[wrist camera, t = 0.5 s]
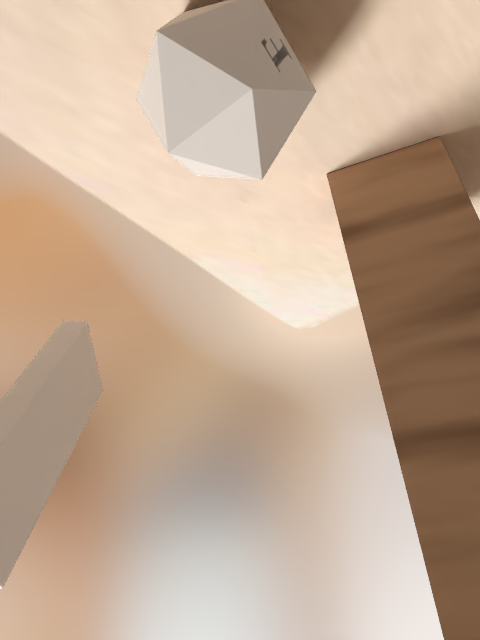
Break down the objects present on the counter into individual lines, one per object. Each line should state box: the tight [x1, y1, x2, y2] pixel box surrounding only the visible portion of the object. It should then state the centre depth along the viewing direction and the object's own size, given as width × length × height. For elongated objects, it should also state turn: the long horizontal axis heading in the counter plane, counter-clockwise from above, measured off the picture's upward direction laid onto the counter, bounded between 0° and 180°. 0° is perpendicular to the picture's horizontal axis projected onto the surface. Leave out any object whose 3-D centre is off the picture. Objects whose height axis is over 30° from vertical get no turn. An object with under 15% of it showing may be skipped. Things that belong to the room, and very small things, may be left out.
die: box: [136, 0, 316, 180], centre depth 24 cm, size 8×9×10 cm
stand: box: [327, 137, 480, 640], centre depth 28 cm, size 8×8×30 cm
